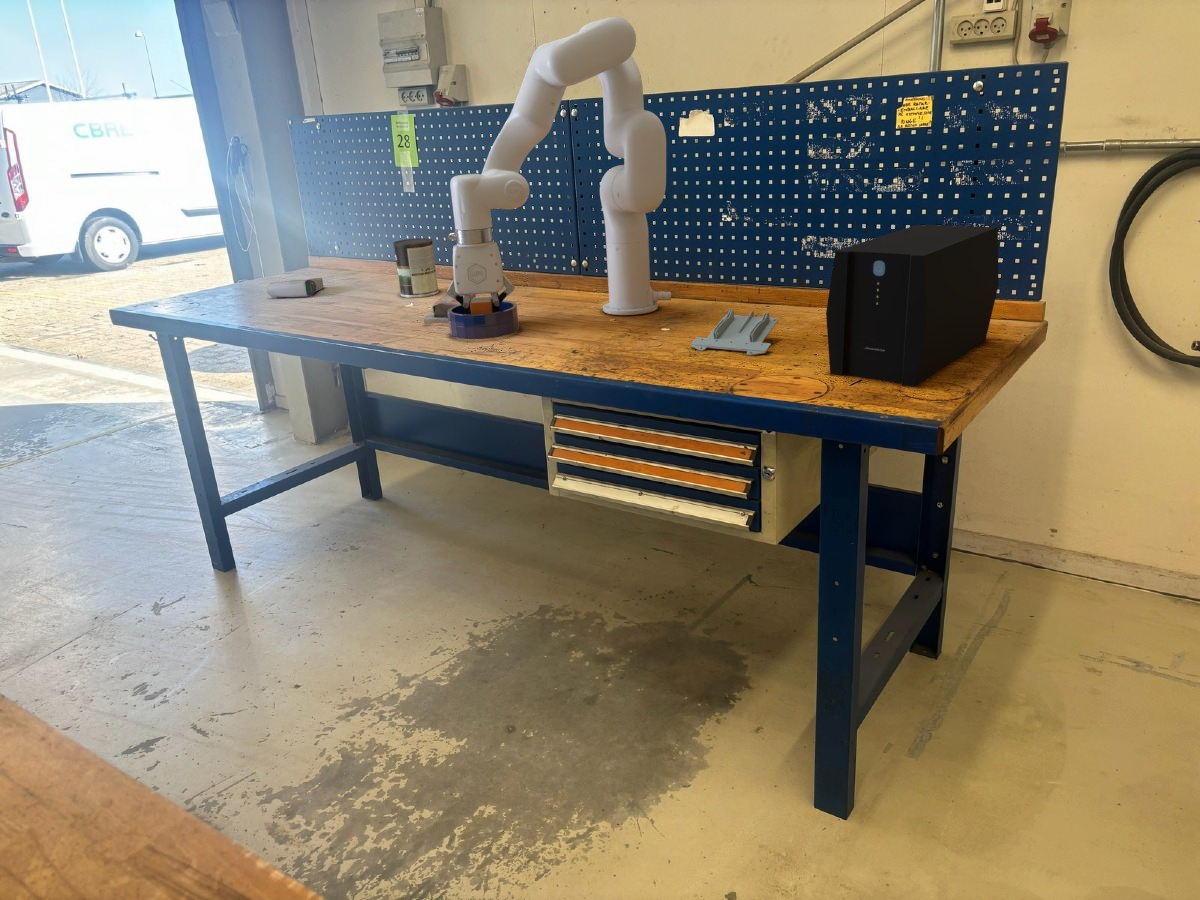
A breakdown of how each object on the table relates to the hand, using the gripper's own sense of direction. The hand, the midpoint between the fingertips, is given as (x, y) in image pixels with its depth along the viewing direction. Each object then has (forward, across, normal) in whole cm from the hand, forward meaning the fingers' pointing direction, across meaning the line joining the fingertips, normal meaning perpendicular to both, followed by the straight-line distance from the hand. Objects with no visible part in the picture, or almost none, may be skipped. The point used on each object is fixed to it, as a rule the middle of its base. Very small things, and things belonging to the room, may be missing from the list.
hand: (484, 323), depth 182 cm
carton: (+1, 0, 0) cm, 1 cm away
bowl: (+2, 0, 0) cm, 2 cm away
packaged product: (+2, -9, +19) cm, 21 cm away
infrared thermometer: (+2, -60, +64) cm, 88 cm away
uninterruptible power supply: (+2, +78, -37) cm, 87 cm away
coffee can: (+2, -23, +51) cm, 56 cm away
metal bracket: (+2, +51, -22) cm, 56 cm away
